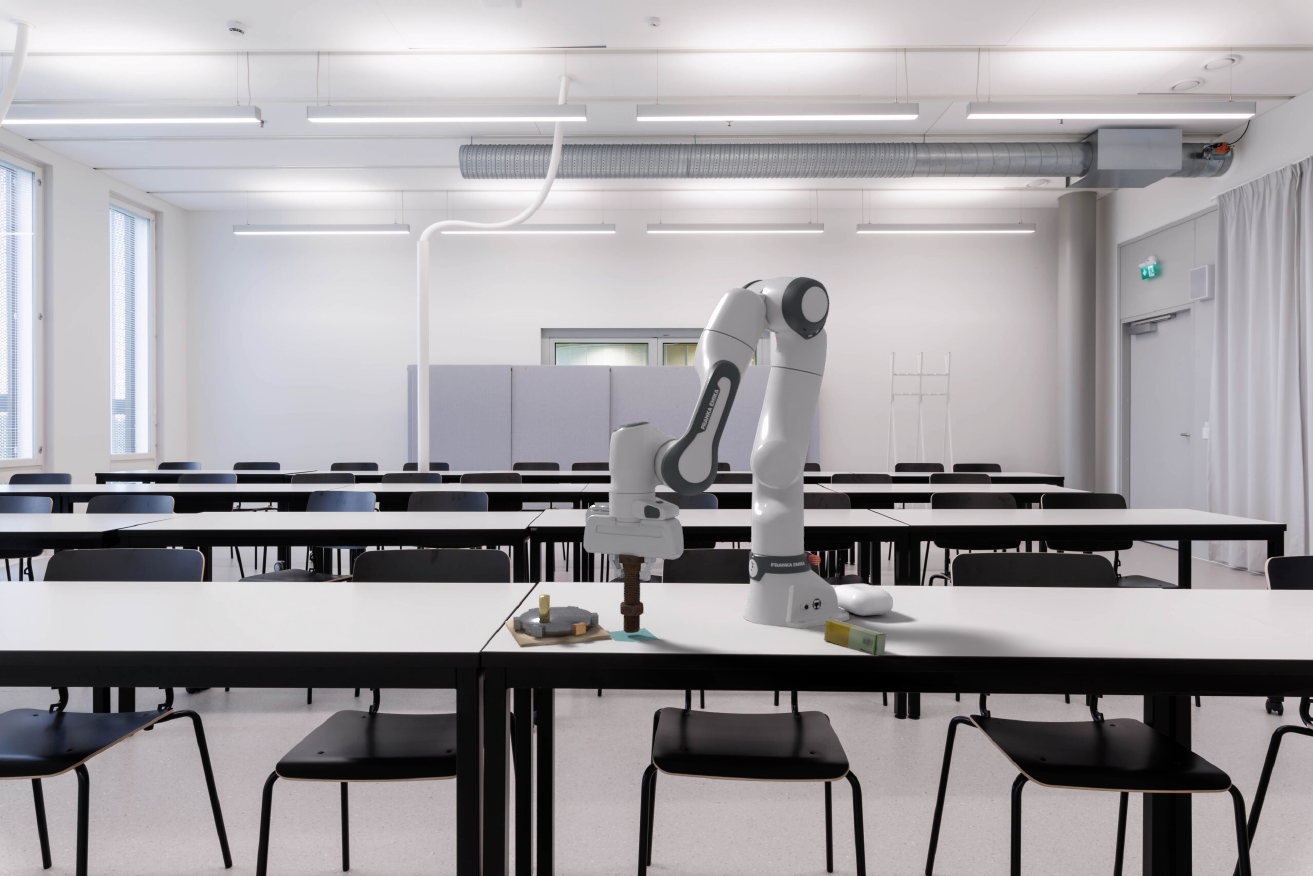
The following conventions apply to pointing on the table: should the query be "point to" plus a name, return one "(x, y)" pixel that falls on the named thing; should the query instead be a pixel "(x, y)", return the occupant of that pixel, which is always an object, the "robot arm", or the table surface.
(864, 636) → the medication box
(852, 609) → the earbud case
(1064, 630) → the table surface
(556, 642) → the sprocket base
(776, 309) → the robot arm
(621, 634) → the pad
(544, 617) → the sprocket
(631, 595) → the bolt
